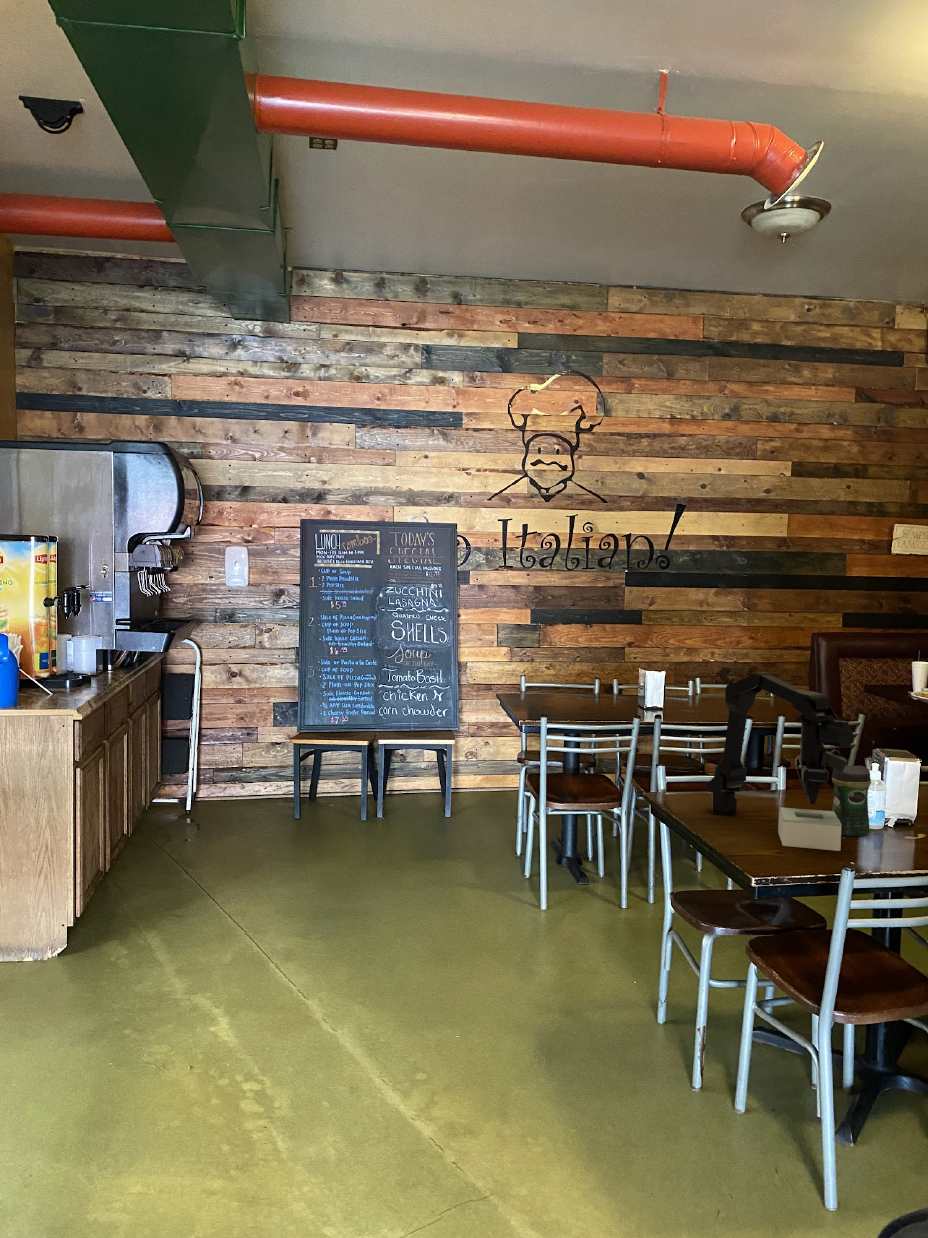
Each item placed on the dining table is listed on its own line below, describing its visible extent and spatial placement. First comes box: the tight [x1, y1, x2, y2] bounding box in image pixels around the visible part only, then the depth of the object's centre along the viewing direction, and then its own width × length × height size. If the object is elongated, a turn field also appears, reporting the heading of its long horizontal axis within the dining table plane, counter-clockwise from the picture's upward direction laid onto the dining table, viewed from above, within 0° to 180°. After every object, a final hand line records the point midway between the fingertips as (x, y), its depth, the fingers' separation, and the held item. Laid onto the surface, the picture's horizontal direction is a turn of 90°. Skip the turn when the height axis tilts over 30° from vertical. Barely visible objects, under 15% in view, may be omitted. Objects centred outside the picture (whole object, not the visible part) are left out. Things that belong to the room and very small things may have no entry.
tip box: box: [777, 806, 842, 852], centre depth 232 cm, size 14×12×7 cm
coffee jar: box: [831, 765, 872, 837], centre depth 240 cm, size 10×8×19 cm
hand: (810, 799), depth 231 cm, fingers open, 9 cm apart
